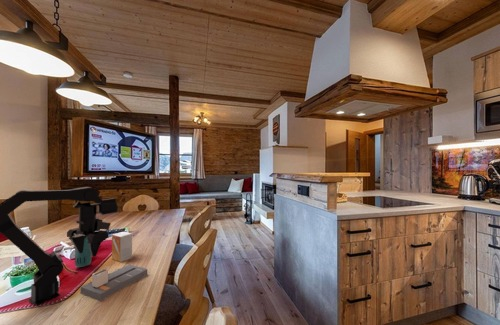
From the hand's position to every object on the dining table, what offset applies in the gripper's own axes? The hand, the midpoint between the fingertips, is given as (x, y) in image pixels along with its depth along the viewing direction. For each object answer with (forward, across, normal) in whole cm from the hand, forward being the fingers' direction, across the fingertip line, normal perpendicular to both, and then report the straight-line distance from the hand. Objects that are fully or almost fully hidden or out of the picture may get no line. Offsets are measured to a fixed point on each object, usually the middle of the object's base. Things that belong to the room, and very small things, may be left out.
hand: (87, 254), depth 87 cm
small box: (+12, +10, -22) cm, 27 cm away
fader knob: (+10, -11, +1) cm, 15 cm away
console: (+12, -11, -5) cm, 17 cm away
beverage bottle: (+12, +18, -8) cm, 23 cm away
